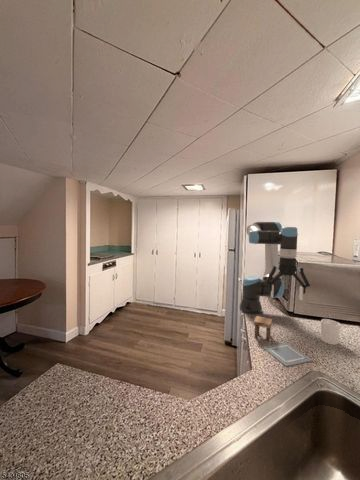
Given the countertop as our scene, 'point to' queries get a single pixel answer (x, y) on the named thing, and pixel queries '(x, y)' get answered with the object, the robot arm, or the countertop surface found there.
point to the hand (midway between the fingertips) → (286, 298)
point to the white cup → (330, 331)
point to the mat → (287, 354)
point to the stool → (264, 323)
